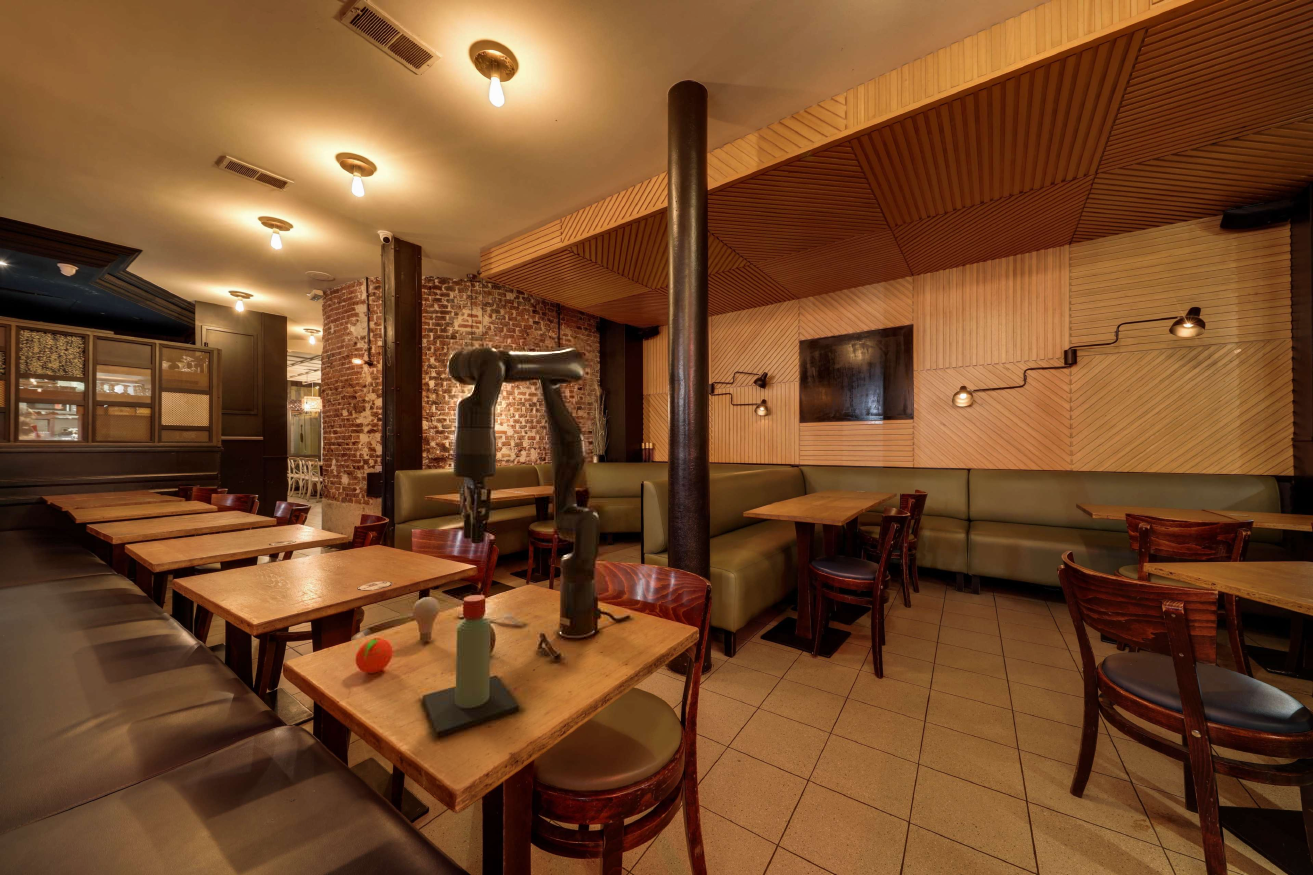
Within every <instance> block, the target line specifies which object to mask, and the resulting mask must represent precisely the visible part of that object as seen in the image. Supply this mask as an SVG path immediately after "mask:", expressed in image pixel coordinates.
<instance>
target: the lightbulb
mask: <svg viewBox="0 0 1313 875" xmlns="http://www.w3.org/2000/svg"><path fill="white" fill-rule="evenodd" d="M440 610H441V607H440V603H439V602H438V600H437V599H436V598H434V597H430V596H426V597H422V598H420V599H418V600H417V601H416V602H415V604H414V605H413V608H412V611H411V612H412V613H411V614H412V617H413V619H414V620H415V621H416V623H417V626H418V632H419V640H420V641H421V642H423V643H427V642H429V641H430V640H431V639H432V634H433V633H432V632H433V629H434V624H435V621H436V619H437V618H438V615H439V613H440Z"/></svg>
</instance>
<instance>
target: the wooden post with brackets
mask: <svg viewBox="0 0 1313 875" xmlns="http://www.w3.org/2000/svg"><path fill="white" fill-rule="evenodd" d="M543 644H544V646H543ZM537 650H538V651H539V650H540V653H542V655H543V656H547V655H548V651H549V653H550V655H551V656H552V663H555V662H557V661H559V660H560V659H561V656H562V653H561V652H557V651H556V650H555V649H554V647H553V645H552V643H551V642H550V640H548V639H547V636H546V634H545V633H544V632H540V633H539V643H538V644H537Z"/></svg>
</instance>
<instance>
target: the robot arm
mask: <svg viewBox="0 0 1313 875" xmlns="http://www.w3.org/2000/svg"><path fill="white" fill-rule="evenodd" d="M447 371H448V374H449V376H450V378H451V379H452V380H453V381H455V382H456V383H458V384H460V385H462V386H473V389H472V391H471V393H470V394H468V395H467V396H463V397H461V398H460V399H458V400H457V402H456V407H455V408H456V409H455V413H456V414H455V415H456V416H455V431H454V432H455V433H454V438H453V476H454V477H456V478H463V479H464V481H463V484H459V487H458V489H459V513H460V515H461V517H462V520H463V536H462V537H463V538H464V539H466V540H467V539H470V542H471V544H474V545H476V544H483V543H484V542H485V523H486V522H487V521H489V520H490V511H491V510H490V509H491V500H492V499H491V496H492V489H491V488H488V486H487V485H486V478H490V477H494V476H495V475H496V468H497V466H496V465H497V464H496V463H497V461H496V460H497V435H496V407H497V404H498V401H499V399H500V394H501V391H502V389H503V388H502V387H503V384H516V383H517V384H519V383H524V382H525V383H527V382H534V381H539V385H540V390H541V394H542V399H543V405H544V411H545V417H546V418H545V419H546V425H547V436H548V447H549V457H550V463H551V468H552V469H551V472H552V483H553V514H554V515H553V521H554V529H555V533H556V535H557V536H558V538H560V539H561V540H564V541H569V542H573V551H572V552H570V553H567V554H564V555H563V556H562V557H561V558H560V578H559V579H560V582H559V584H560V585H559V586H560V587H559V625H558V626H559V629H558V634H559V635H560V637H562V638H565V639H570V640H579V639H585V638H589V637H591V636H593V635H594V634H595V633H598V632H599V629H598V627H599V620H601V619H602V616H607V617H609V618H610V619H611V620H612V621H614V622H617V623H619V622H620V623H621V622H623V621H626V620H628V619H631V615H630V614H628V615H625V616H623V617H619V618H618V617H617V618H616V617H615V616H614V615H613V614H612V613H611V612H608V611H604V610H602V609H601V608H600V607H599V596H598V595H597V594H596V563H597V559H598V556H599V548H600V547H599V546H600V534H601V532H600V531H601V522H600V516H599V514H598V512H597V511H596V510H595V509H594V508H591V507H584V506H578V504H577V497H576V496H577V495H576V487H577V483H578V480H579V477H580V476H581V473H582V471H583V468H584V465H585V462H586V458H587V454H586V444H585V443H586V442H585V434H584V431H583V429H582V427H581V425H580V424H579V423H578V421H577V420H576V418H575V417H574V415H573V414H572V413H571V411H570V410H569V408H568V406H567V405H566V403H565V400H564V396H563V392H562V385H569V384H575V383H577V382H579V381H581V380H582V379H583V377H584V376H585V373H586V362H585V357H584V355H583V354H582V352H581V351H580V350H579V349H577V348H575V347H571V346H570V347H569V346H565V347H564V346H563V347H557V348H548V349H543V350H541V351H535V350H522V349H499V350H497V349H496V348H493V347H490V346H489V347H488V346H486V347H472V348H463V349H459V350H456V351H455V352H453V353H452V354H451V355H450V357H449V359H448V361H447ZM479 512H480V513H479Z"/></svg>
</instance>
